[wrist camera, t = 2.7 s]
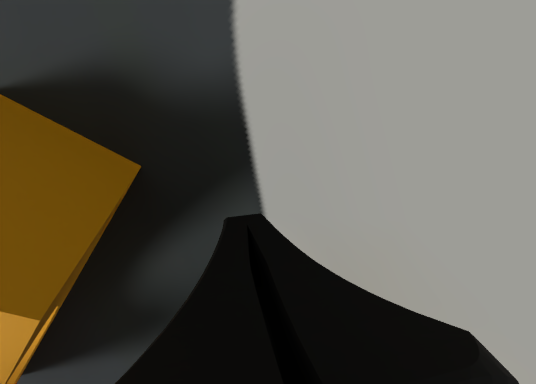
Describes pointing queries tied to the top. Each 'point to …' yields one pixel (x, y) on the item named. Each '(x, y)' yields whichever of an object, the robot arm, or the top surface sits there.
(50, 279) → the pipe clamp
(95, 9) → the top surface
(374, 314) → the robot arm
